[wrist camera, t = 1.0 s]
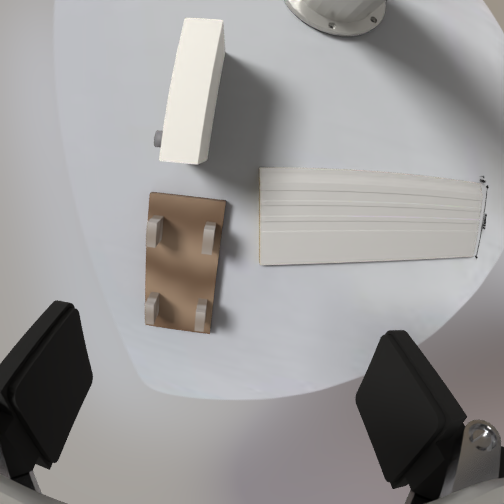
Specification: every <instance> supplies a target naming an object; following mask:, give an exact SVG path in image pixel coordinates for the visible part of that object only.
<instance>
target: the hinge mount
mask: <svg viewBox="0 0 504 504" xmlns="http://www.w3.org/2000/svg"><path fill="white" fill-rule="evenodd" d="M225 204H226V201H225V200H217V199H209V198H201V197H193V196H184V195H176V194H166V193H157V192H151V193H150V198H149V211H148V222H147V231H146V281H145V324H146V325H150V326H156V327H163V328H169V329H176V330H183V331H191V332H199V333H207V334H210V326H211V317H212V308H213V299H214V290H215V282H216V273H217V265H218V257H219V249H220V241H221V234H222V226H223V219H224V211H225Z"/></svg>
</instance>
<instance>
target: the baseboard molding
mask: <svg viewBox="0 0 504 504" xmlns="http://www.w3.org/2000/svg"><path fill="white" fill-rule="evenodd" d="M481 177H482V176H481ZM480 182H484V183H485V180H481V181H480ZM486 187H487V188H489V187H488V185H487V186H486ZM486 197H487V193H486ZM482 199H483V194H482V192H481V183H475V182H469V181H462V180H455V179H447V178H439V177H431V176H422V175H413V174H402V173H391V172H379V171H365V170H348V169H327V168H291V167H259V263H260V265H287V264H317V263H344V262H370V261H393V260H415V259H436V258H456V257H473V254H474V249H475V244H476V239H477V233H478V225H479V221H480V220H479V218H480V212H481V204H482ZM485 205H486V202H485ZM484 212H485V209H484ZM485 216H487V214H485ZM483 219H484V216H483ZM484 221H485V222H484V224H486V217H485V219H484ZM484 224H483V223H482V226H486V225H484ZM483 228H484V227H483ZM484 229H485V228H484ZM481 231H482V229H481ZM480 237H481V235H480ZM479 242H480V240H479ZM478 247H479V245H478ZM477 252H478V250H477ZM475 257H476V258H477V255H476V256H475Z"/></svg>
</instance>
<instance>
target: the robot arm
mask: <svg viewBox="0 0 504 504" xmlns="http://www.w3.org/2000/svg"><path fill="white" fill-rule="evenodd" d="M284 1H285V3H286V5H287V6H288V8H289V9H290V10H291V11H292V12H293V13H294V14H295V15H296V16H297V17H298V18H300V19H301V20H302V21H303V22H305V23H307V24H308V25H310V26H311V27H314V28H316V29H318V30H320V31H323V32H326V33H329V34H332V35H338V36H357V35H362V34H364V33H367V32H369V31H370V30H372V29H374V28H375V27H376V26H377V25H379V23H380V22H381V20H382V19H383V17H384V14H385V9H386V3H385V1H386V0H284ZM329 26H330V27H331V28H330V27H329ZM92 380H93V374H92V370H91V366H90V362H89V358H88V354H87V349H86V345H85V340H84V336H83V331H82V326H81V320H80V315H79V311H78V310H77V309H75V308H74V305H73V304H72V303H68V302H62V301H54V302H53V303H52V304H51V305H50V306H49V307H48V309H47V310H46V311H45V312H44V313H43V314H42V315H41V316H40V317H39V319H38V320H37V321H36V322H35V323H34V324H33V325H32V326H31V328H30V329H29V330H28V331H27V332H26V334H24V336H23V337H22V338H21V339H20V341H19V342H18V343H17V344H16V345H15V346H14V348H13V349H12V350H11V351H10V353H9V354H8V355H7V356H6V358H5V359H4V360H3V361H2V363H1V364H0V504H66V503H64V502H61V501H58V500H56V499H53V498H51V497H48V496H46V495H43V494H42V493H41V490H40V488H39V485H38V483H37V480H36V478H35V475H34V473H33V468H34V466H35V464H38V465H40V466H42V467H44V468H47V469H50V468H51V465H52V463H56V462H57V461H58V459H59V457H60V454H61V452H62V450H63V447H64V445H65V442H66V440H67V438H68V435H69V432H70V430H71V428H72V426H73V424H74V421H75V419H76V417H77V414H78V412H79V410H80V408H81V405H82V403H83V401H84V399H85V397H86V395H87V393H88V391H89V388H90V386H91V384H92ZM356 404H357V407H358V409H359V412H360V415H361V417H362V420H363V422H364V425H365V427H366V430H367V432H368V435H369V438H370V440H371V443H372V445H373V448H374V451H375V453H376V456H377V458H378V461H379V464H380V466H381V469H382V472H383V475H384V477H385V479H386V481H387V482H390V483H391V486H392V488H393V489H395V488H399V487H403V486H406V485H407V484H409V486H410V488H411V490H410V492H409V495H408V497H407V499H406V502H405V504H504V447H502V446H501V438H500V435H499V433H498V431H497V430H496V428H495V427H494V426H493V425H491V424H490V423H488V422H486V421H484V420H473V421H471V422H469V423H468V424H467V425H466V426H464V424H463V422H464V420H465V419H466V418H467V416H466V414H465V413H464V411H463V410H462V408H461V407H460V405H459V404H458V402H457V401H456V399H455V398H454V396H453V395H452V393H451V392H450V390H449V389H448V388H447V386H446V385H445V383H444V382H443V380H442V379H441V378H440V376H439V375H438V373H437V372H436V371H435V369H434V368H433V367H432V365H431V364H430V362H429V361H428V360H427V358H426V357H425V356H424V354H423V353H422V352H421V350H420V349H419V348H418V346H417V345H416V344H415V342H414V341H413V340H412V338H411V337H410V336H409V334H408V333H407V332H406V331H404V330H390V331H387V332H386V334H385V335H383V336H382V337H381V339H380V341H379V343H378V346H377V348H376V351H375V353H374V356H373V358H372V360H371V363H370V365H369V367H368V370H367V372H366V374H365V376H364V379H363V381H362V383H361V385H360V387H359V389H358V392H357V394H356Z"/></svg>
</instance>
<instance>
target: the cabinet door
mask: <svg viewBox="0 0 504 504" xmlns="http://www.w3.org/2000/svg"><path fill="white" fill-rule="evenodd" d="M224 57H225V39H224V26H223V20H215V19H201V18H185V20H184V24H183V28H182V32H181V37H180V41H179V45H178V50H177V55H176V59H175V64H174V69H173V74H172V79H171V85H170V90H169V96H168V102H167V108H166V114H165V120H164V127H163V131H158V130H157V131H156V133H155V137H154V146H155V147H161V149H160V157H159V161H167V162H177V163H187V164H196V165H198V164H200V163H202V162H204V161H207V160H208V153H209V146H210V139H211V133H212V126H213V120H214V114H215V108H216V102H217V96H218V90H219V84H220V79H221V73H222V68H223V63H224Z"/></svg>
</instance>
